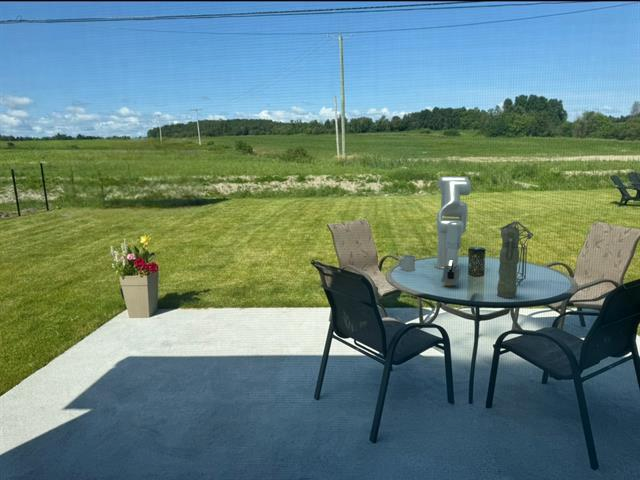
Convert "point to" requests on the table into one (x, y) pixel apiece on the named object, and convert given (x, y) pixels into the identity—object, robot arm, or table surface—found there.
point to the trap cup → (456, 275)
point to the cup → (407, 262)
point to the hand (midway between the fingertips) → (451, 277)
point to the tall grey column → (508, 263)
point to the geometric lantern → (518, 247)
